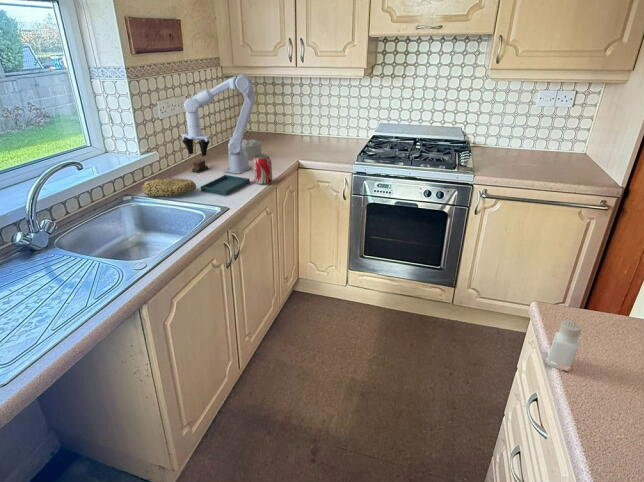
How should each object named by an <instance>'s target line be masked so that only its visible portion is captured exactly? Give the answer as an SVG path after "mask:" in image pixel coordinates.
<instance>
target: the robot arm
mask: <svg viewBox="0 0 644 482" xmlns="http://www.w3.org/2000/svg"><path fill="white" fill-rule="evenodd" d="M236 88H237V90H239V92H241V94H242V96H243V98H244V100H243V103H242V107H241V109H240V113H239V116H238V118H237V121H236V126H235V128H234V131H233V134H232V135H231V137H230V138H229V140H228V144H227V149H228V151H227V154H228V155H227V157H228V165H229V168H228V169H226V170H225V172H226V173H227V172H228V173H234V174H241V173H244V172H245V171H247V170H250V169H251V167H250V166H249V165H250V164H249V160H248V154H247V153H246V152H245V151H244V150H242V141H243V140H244V137H245V136H244V135H245V132H246V129H247V126H248V123H249V120H250V117H251V114H252V112H253V108H254V105H255V103H256V99H257V96H256V92H255V89H254V86H253V81H252V79H251V78H250V77H249V76H248V74H246V73H239V74H238V75H235V76H232V77H230V78H228V79H225V80H224V81H222V82H221V83H219V84H218V85H216V86H214V87H213V88H211V89H208V88H205V89H204V88H202V89H200V90H199V92H197V93H196V94H192V95H191V96H190V97H188V98H187V99H186V100H185V101H184V103H183V108H184V110H185V117H186V125H187V132H188V133H182V134H181V139H182V140H181V141H182V144H184V146H185V148H186V149H187V153H188V154H189V155H190V156H191V155H192V154H194V140H196V141H198V142H197V143H198V145H199V149H200V154H201V156H202V157H206V156H207V151H208V147H209V145H210V142H211V141H210V140H211V139H210V136H209V135H205V134H203V133H202V127H201V120H200V114H199V109H200V108H203V107H205V106H206V105H208V104H210V103H212V102H213V101H214V97H216V96H219V95H220V94H222V93H224V92H226V91H228V90H236Z"/></svg>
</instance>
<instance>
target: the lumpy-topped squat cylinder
mask: <svg viewBox="0 0 644 482" xmlns="http://www.w3.org/2000/svg"><path fill="white" fill-rule="evenodd" d="M242 150H244V151H245V152H246V153H247V154H248V161H253V159H254V156H255V155H258V154H263V153H262V143H261V141H260V140H257V139H254V138H252V139H245V138H243V139H242Z"/></svg>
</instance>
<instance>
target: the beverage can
mask: <svg viewBox="0 0 644 482" xmlns="http://www.w3.org/2000/svg"><path fill="white" fill-rule="evenodd" d="M252 166H253V167H252V169H253V182H254V183H255V184H256V185H260V186H267V185H269V184H271V182H273V166H272V158H271V157H270V154H267V153H262V154H258V155H255V156H254V159H252Z"/></svg>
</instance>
